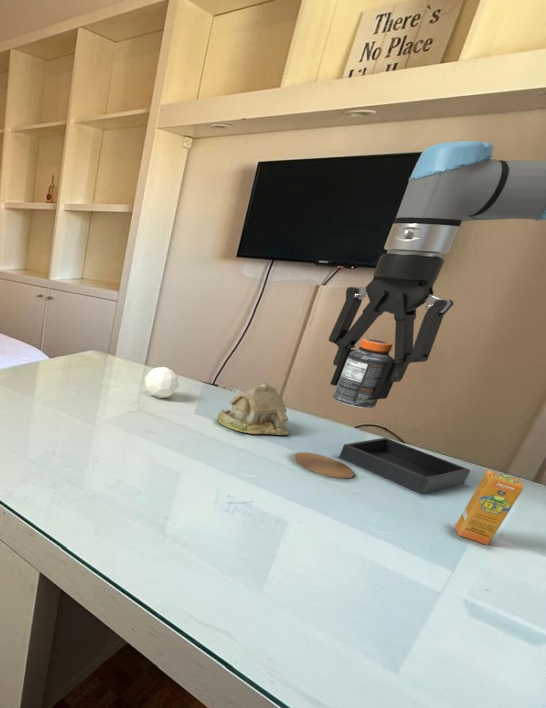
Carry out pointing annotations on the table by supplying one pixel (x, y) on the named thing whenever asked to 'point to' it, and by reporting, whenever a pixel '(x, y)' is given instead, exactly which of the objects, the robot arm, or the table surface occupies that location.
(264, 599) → the table surface
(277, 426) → the ceramic model
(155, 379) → the geometric ball
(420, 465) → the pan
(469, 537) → the supplement box
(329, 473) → the coaster
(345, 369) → the pill bottle
